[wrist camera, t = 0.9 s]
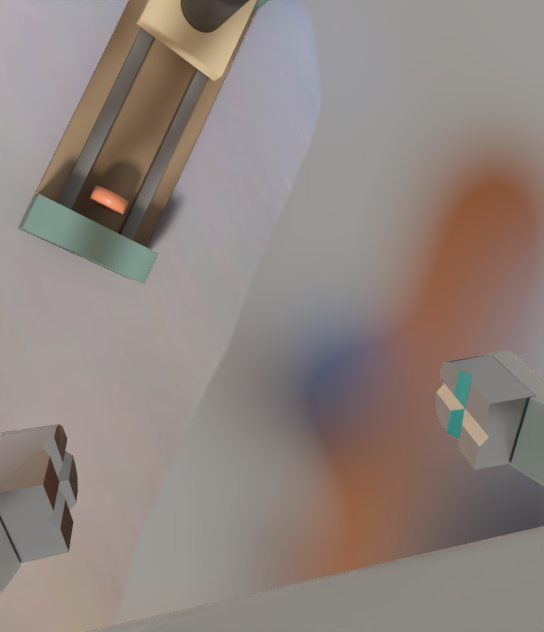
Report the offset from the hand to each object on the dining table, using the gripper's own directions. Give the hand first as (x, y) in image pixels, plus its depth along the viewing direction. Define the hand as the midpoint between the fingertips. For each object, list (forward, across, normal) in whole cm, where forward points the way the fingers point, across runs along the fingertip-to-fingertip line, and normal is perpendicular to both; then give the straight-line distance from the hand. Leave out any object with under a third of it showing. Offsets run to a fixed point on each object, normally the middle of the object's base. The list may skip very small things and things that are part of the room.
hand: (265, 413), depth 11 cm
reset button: (+32, +6, +4) cm, 33 cm away
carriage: (+38, -3, -8) cm, 39 cm away
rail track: (+38, +2, -2) cm, 38 cm away
